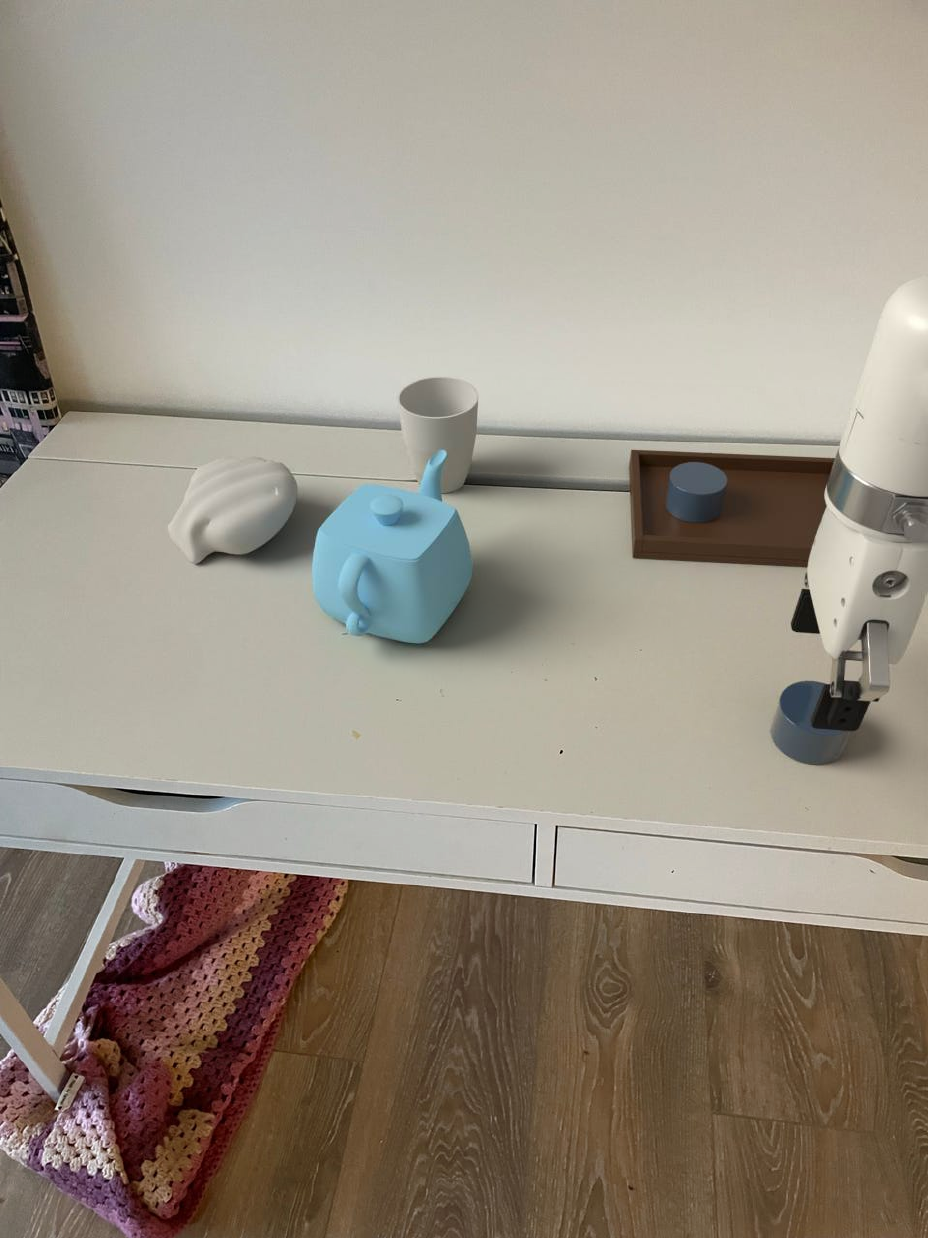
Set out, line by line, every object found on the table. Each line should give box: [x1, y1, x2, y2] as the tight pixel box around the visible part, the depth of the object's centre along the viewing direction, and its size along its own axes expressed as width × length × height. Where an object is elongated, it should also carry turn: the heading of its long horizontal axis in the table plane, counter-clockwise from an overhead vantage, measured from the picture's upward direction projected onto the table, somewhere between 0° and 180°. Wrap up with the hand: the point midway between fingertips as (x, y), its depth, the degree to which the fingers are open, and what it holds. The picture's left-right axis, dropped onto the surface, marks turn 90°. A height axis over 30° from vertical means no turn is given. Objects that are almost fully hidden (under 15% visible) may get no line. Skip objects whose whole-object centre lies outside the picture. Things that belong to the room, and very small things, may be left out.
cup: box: [396, 376, 479, 494], centre depth 97 cm, size 8×8×10 cm
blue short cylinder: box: [665, 462, 727, 523], centre depth 94 cm, size 6×6×4 cm
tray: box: [628, 449, 836, 568], centre depth 94 cm, size 22×16×2 cm
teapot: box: [311, 450, 473, 644], centre depth 83 cm, size 12×18×12 cm
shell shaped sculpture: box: [167, 456, 298, 565], centre depth 93 cm, size 13×13×6 cm
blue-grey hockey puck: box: [770, 680, 852, 766], centre depth 72 cm, size 6×6×4 cm
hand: (821, 676), depth 69 cm, fingers open, 9 cm apart
